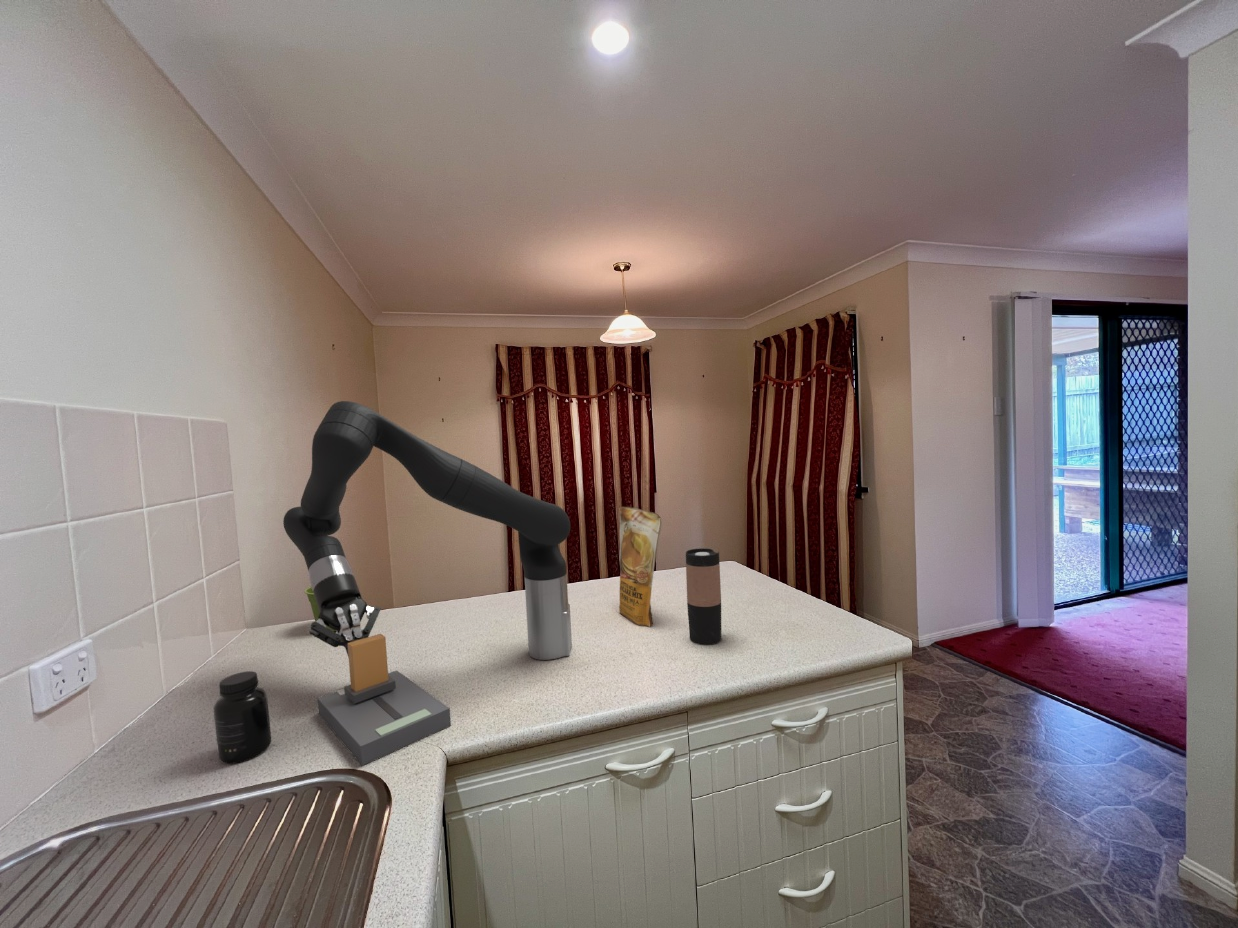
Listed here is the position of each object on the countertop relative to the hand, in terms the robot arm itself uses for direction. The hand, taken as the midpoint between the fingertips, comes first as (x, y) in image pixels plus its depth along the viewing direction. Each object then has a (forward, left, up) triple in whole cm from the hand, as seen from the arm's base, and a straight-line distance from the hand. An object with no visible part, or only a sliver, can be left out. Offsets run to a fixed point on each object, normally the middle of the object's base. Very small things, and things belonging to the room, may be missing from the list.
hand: (359, 659), depth 96 cm
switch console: (-7, +7, -8) cm, 12 cm away
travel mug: (-67, -23, -8) cm, 71 cm away
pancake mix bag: (-52, -39, -8) cm, 66 cm away
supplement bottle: (+11, +15, -8) cm, 20 cm away
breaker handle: (-3, +3, -4) cm, 6 cm away
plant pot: (+28, -39, -8) cm, 49 cm away
